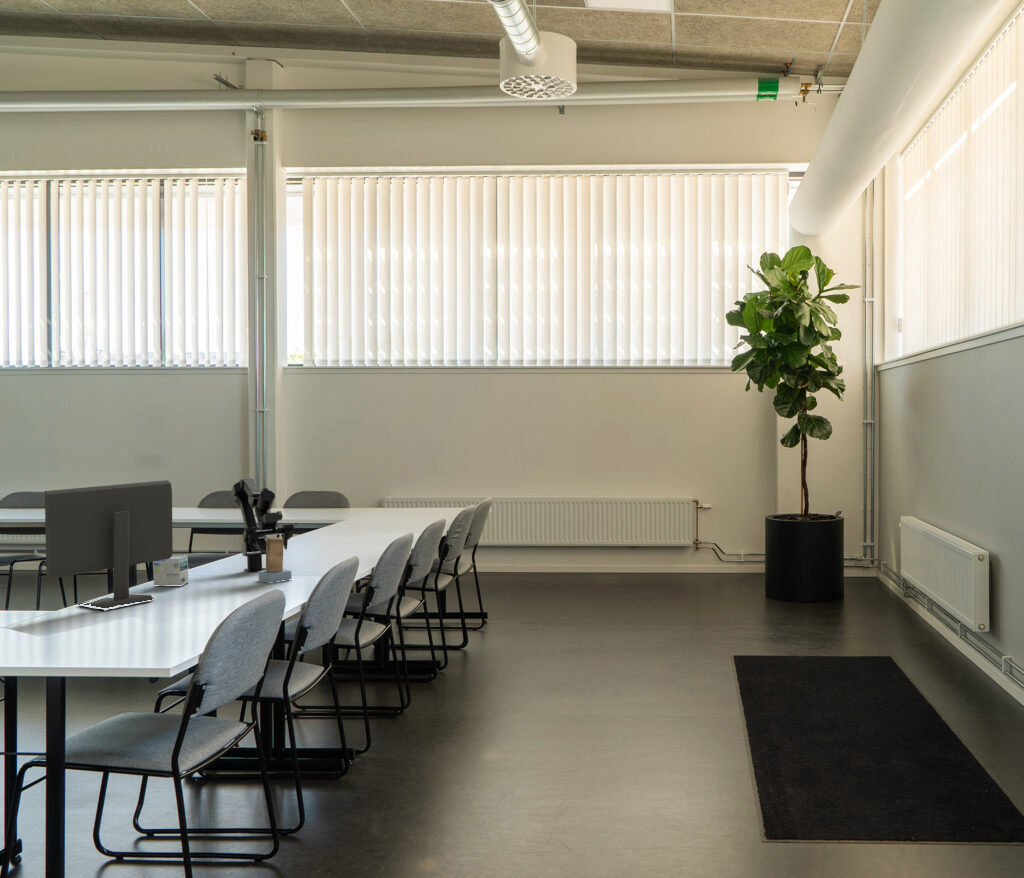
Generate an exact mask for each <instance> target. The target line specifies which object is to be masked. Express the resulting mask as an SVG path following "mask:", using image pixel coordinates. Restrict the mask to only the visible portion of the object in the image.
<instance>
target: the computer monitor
mask: <svg viewBox="0 0 1024 878" xmlns="http://www.w3.org/2000/svg"><path fill="white" fill-rule="evenodd" d="M44 516H45V517H44V521H45V522H44V523H45V524H44V525H45V526H44V527H45V566H46V567H45V569H46V570H45V572H46V573H45V575H46V577H45V578H46V580H51V579H52V580H53V579H57V578H63V577H68V576H69V577H70V576H75V575H81V574H87V573H93V572H98V571H105V570H110V569H113V596H112V597H113V598H109V597H110V596H109V597H104V598H99V599H100V600H98V599H96V600H97V601H94V602H91V603H87V602H90V601H91V600H88V601H83V602H80V603H78V604H77V606H78V605H80V604H83V603H87V604H84V605H89V604H91V606H96V607H101V608H109V607H114V606H117V605H124V604H130V603H135V602H142V601H147V600H152V599H154V597H153V596H152V595H151V594H133V593H132V594H130V566H134V565H140V564H147V563H151V562H152V563H153V561H159V560H165V559H169V558H171V557H172V556H173V552H174V551H173V550H174V549H173V543H174V542H173V488H172V483H171V482H170V480H168V479H167V480H166V479H165V480H156V481H143V482H135V483H134V482H133V483H121V484H110V485H100V486H99V485H98V486H87V487H77V488H75V487H74V488H63V489H53V490H52V489H51V490H44ZM152 601H153V600H152Z"/></svg>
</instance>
